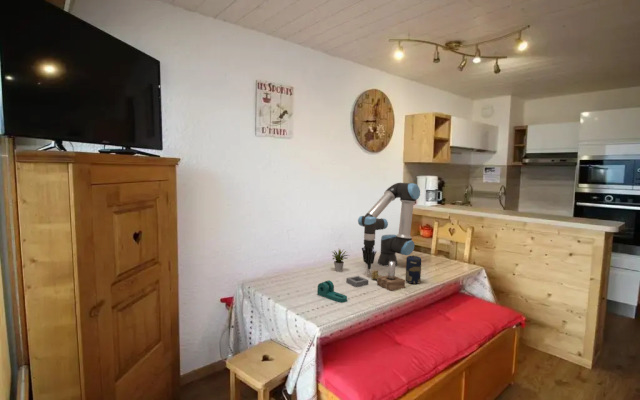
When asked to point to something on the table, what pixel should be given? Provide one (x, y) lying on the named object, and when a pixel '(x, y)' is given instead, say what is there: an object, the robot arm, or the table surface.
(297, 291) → the table surface
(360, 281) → the grey square frame
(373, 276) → the yellow t-shaped block
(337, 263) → the house plant
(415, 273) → the canister
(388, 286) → the socket block
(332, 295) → the bracket
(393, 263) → the grey rounded rod
